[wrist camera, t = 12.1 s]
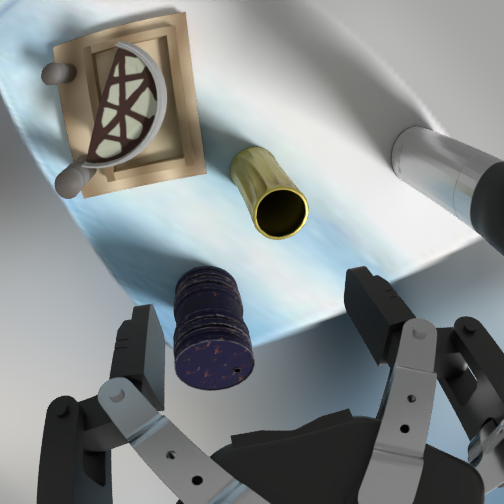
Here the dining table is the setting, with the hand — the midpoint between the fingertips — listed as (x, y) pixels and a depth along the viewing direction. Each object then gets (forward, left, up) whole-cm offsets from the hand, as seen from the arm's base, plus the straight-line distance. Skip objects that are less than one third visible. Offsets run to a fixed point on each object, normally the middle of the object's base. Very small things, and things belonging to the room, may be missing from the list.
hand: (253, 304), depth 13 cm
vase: (-5, +4, -30) cm, 31 cm away
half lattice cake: (+7, -7, -28) cm, 30 cm away
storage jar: (+4, +22, -30) cm, 38 cm away
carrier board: (+9, -7, -30) cm, 32 cm away
